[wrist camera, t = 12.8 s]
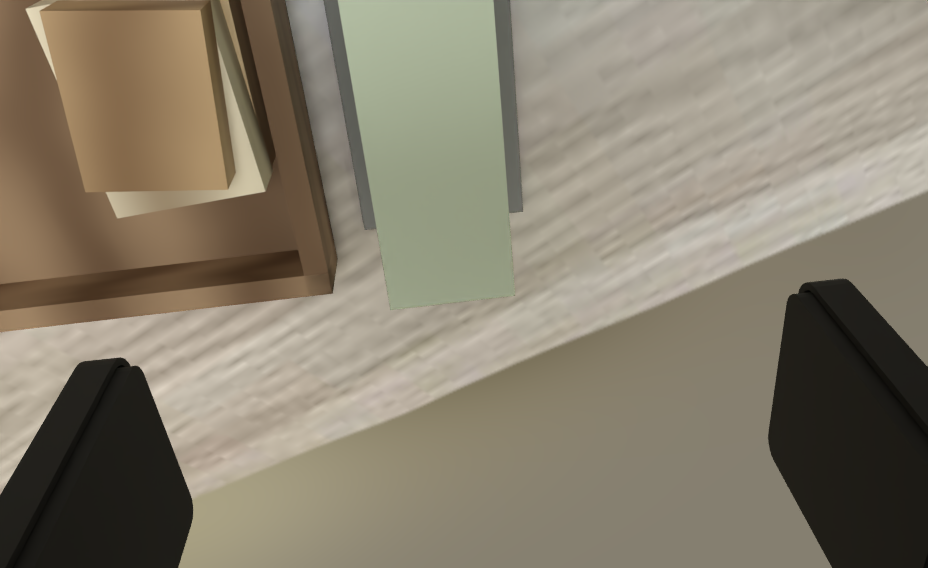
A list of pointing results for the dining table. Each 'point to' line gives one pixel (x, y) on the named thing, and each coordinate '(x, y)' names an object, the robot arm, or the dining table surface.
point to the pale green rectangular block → (432, 146)
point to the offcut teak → (142, 93)
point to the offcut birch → (242, 126)
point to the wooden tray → (156, 233)
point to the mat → (506, 96)
